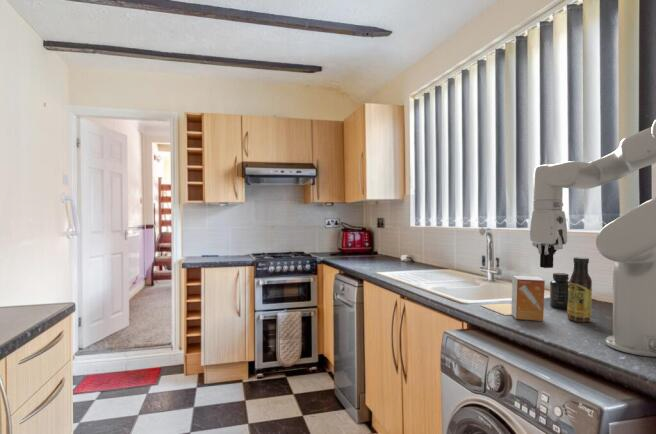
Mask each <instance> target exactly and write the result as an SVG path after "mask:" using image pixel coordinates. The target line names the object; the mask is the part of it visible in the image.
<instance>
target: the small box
mask: <svg viewBox="0 0 656 434" xmlns="http://www.w3.org/2000/svg"><path fill="white" fill-rule="evenodd" d="M511 279H512V282H511V284H512V285H511V287H512V288H511V304H512V315H511V316H513V317H514V319H515V320H523V321H524V320H525V321H526V320H527V321H537V322H539V321H540V322H544V310H545V309H544V308H545V282H546V281H545V280H544V279H543V278H542V277H540V276H530V275H512V278H511Z"/></svg>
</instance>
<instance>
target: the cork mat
mask: <svg viewBox="0 0 656 434" xmlns="http://www.w3.org/2000/svg"><path fill="white" fill-rule="evenodd" d="M479 306H480V307H482V308H484V307H485V308H484V309H487V310H489V311H493V312H494V313H497V314H500V315H502V316H504V317H506V316H507V317H508V316H513V315H512V303H491V304H490V303H489V304H480V305H479Z"/></svg>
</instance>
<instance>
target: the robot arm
mask: <svg viewBox="0 0 656 434" xmlns="http://www.w3.org/2000/svg"><path fill="white" fill-rule="evenodd" d="M654 164H656V119H654V121H653V123H652V126H651V127H648V128H646V129H643V130H641V131H638V132H636V133H633V134H631V135H629V136H626V137H624V138H622V139H621V141H620V142H619V146H618V147H617V148H616V150H614V151H612V152H611V153H609V154H607V155H605V156H603V157H600V158H598V159H595V160H592V161H589V162H584V161H573V160H569V161H562V162H559V163H555V164H541V165H537V166H535V168H534V169H533V170H534V171H533V203H532V204H533V209H532V210H533V211H532V213H531V217H530V218H531V220H530V231H529V236H530V237H529V239H530V241H531V242H532V245H531V246H533V247H535V248H537V250H538V254H539V255H540V256H539V257H540V258H539V267H540V268H543V269H548V268H549V269H553V268H554V255H556V252H557V251H558V250H563V249H564V246H563V245H566V244H567V243H568V227H567V218H566V213H565V211H564V210H563V207H564V203H563V190H564V189H575V190H576V189H581V190H586V189H587V190H589V189H594V188H597V187H600V186H603V185H606V184H609V183H612V182H616V181H617V180H619V179H622V178H625V177H626V176H629V175H631V174H633V173H635V172H636V171H638V170H639V169H642V168H646V167H648V166H651V165H654ZM595 245H596V248H597V251H598V253H600V255H601V256H602V257H604V258H605V259H607V260H610V261H613V262H614V266H613V273H612V335H609V336H607V337H606V338H604V339H605V344H606V345H607V346H608V347H610V348H612V349H614V350H616V351H620V352H623V353H627V354H631V355H635V356H637V355H638V356H642V357H653V358H654V357H656V197H652V198H651V199H649V200H646V201H644V202H643V203H641V204H639V205H637V206H635V207H634V208H632V209H630V210H629V211H627V212H626V213H624V214H623V215H620V216H619V217H617V218H616V219H613V220H612V221H610V222H609V223H608V224H606V225H604V226H603V227H602V228H601V229H600V230H599V232H598V234H597V235H596V239H595Z"/></svg>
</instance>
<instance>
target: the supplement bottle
mask: <svg viewBox="0 0 656 434" xmlns="http://www.w3.org/2000/svg"><path fill="white" fill-rule="evenodd" d="M552 279H553V280H551V281H550V282H549V303H550V304H549V305H550V307H551V308H554V309H559V310H560V309H561V310H567V306H568V283H569V281H570V279H569V274H568V273H563V272H553V273H552Z"/></svg>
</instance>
